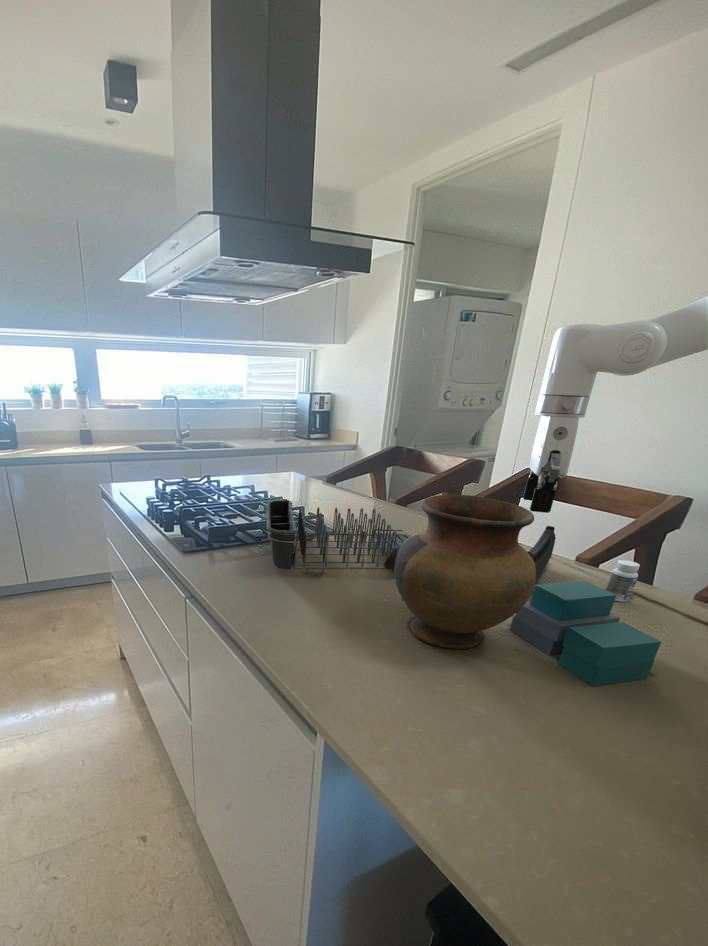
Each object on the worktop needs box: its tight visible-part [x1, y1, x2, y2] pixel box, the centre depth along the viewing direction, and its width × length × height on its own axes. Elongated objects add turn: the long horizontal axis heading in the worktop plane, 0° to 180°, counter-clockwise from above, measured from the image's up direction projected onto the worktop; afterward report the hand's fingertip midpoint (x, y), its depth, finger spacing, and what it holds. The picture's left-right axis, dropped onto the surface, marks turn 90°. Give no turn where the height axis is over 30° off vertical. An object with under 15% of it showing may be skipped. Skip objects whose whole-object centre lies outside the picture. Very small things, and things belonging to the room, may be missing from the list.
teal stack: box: [558, 621, 662, 687], centre depth 80 cm, size 11×7×7 cm, turn 104°
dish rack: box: [266, 499, 412, 577], centre depth 128 cm, size 34×44×12 cm
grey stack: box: [509, 601, 621, 657], centre depth 90 cm, size 14×10×6 cm
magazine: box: [527, 525, 556, 582], centre depth 115 cm, size 17×3×30 cm
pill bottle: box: [605, 559, 641, 603], centre depth 108 cm, size 5×5×8 cm
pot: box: [383, 494, 537, 650], centre depth 87 cm, size 25×24×25 cm
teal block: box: [529, 579, 616, 621], centre depth 88 cm, size 11×7×4 cm, turn 104°
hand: (535, 505), depth 90 cm, fingers open, 9 cm apart
